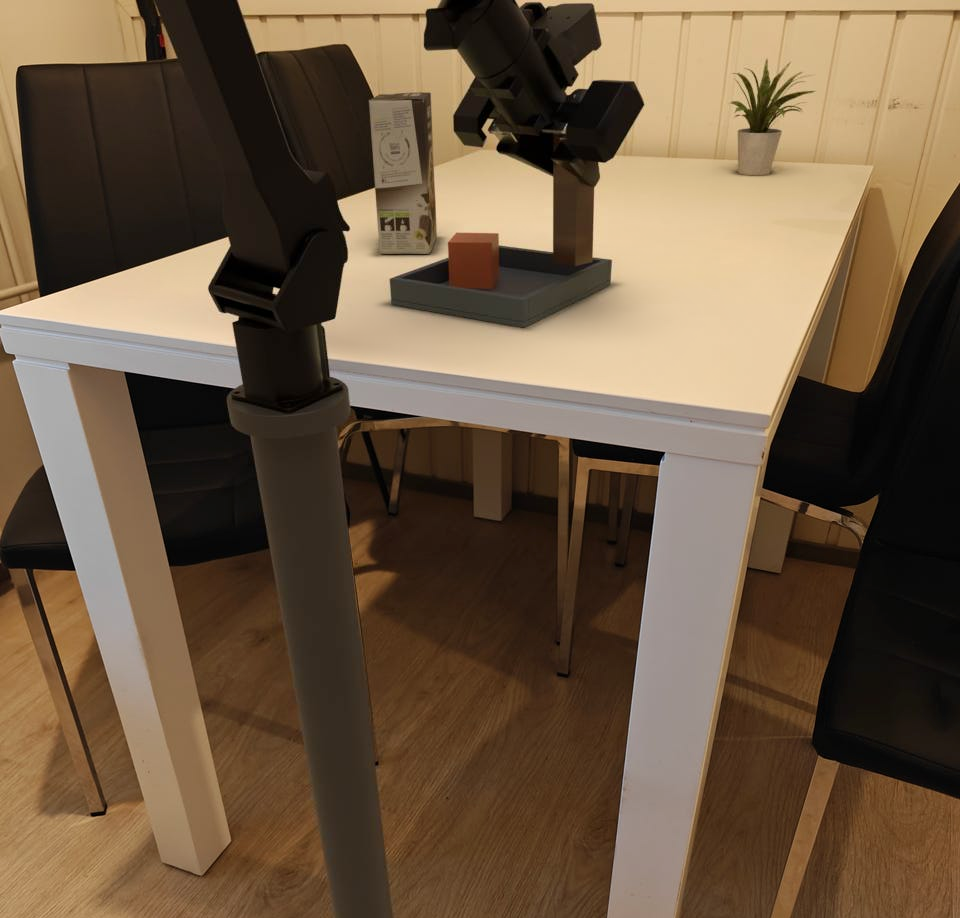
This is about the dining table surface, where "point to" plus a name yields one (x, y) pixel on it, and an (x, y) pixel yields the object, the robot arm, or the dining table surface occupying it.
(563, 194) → the tall brown rectangular pillar
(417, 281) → the tray
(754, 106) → the house plant
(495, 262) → the block
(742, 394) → the dining table surface
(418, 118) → the coffee box
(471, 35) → the robot arm
